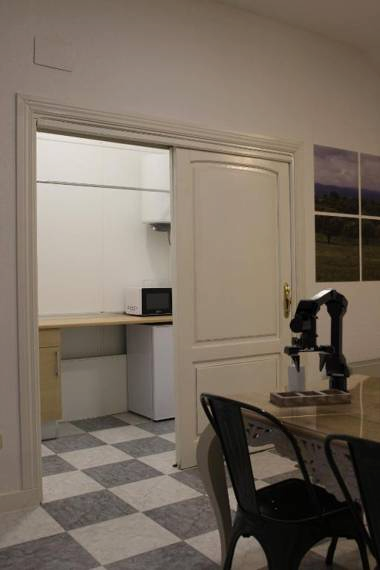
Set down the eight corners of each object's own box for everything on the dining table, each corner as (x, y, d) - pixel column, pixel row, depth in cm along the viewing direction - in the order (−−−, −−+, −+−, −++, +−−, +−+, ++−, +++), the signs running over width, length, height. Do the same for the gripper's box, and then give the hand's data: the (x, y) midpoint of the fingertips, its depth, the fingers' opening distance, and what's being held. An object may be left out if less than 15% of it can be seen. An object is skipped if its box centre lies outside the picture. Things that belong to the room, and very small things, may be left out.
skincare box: (306, 395, 235) (306, 365, 235) (298, 396, 232) (297, 366, 232) (295, 393, 240) (295, 364, 240) (287, 394, 237) (287, 365, 237)
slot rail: (336, 396, 232) (336, 388, 232) (351, 402, 220) (350, 394, 220) (270, 400, 226) (269, 392, 226) (281, 406, 214) (281, 398, 214)
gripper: (322, 329, 233) (322, 368, 233) (278, 330, 229) (278, 370, 229) (335, 331, 222) (335, 372, 222) (289, 332, 218) (289, 374, 218)
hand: (309, 372), depth 223 cm, fingers open, 9 cm apart
